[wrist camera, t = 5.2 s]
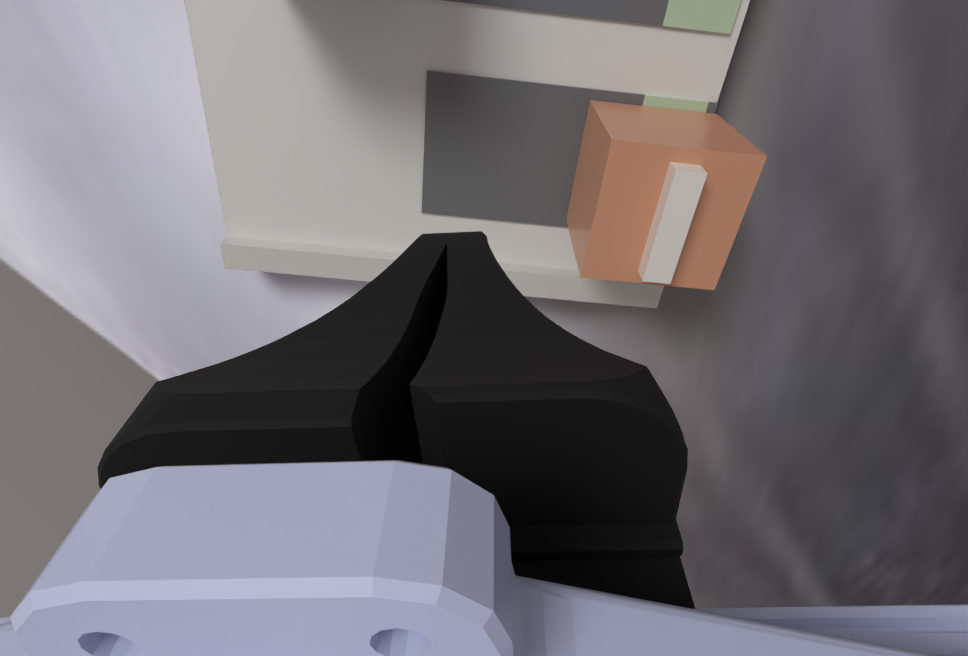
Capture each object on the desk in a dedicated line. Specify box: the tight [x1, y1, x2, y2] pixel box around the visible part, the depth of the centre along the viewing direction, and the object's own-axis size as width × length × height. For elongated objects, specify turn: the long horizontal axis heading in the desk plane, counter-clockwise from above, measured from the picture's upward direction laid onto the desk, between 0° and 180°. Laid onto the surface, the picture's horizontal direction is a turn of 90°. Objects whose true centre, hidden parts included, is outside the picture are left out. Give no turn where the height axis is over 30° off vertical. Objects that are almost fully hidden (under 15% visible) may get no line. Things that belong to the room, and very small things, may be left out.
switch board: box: [184, 0, 750, 308], centre depth 17 cm, size 16×15×2 cm
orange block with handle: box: [566, 100, 767, 290], centre depth 17 cm, size 4×4×5 cm
